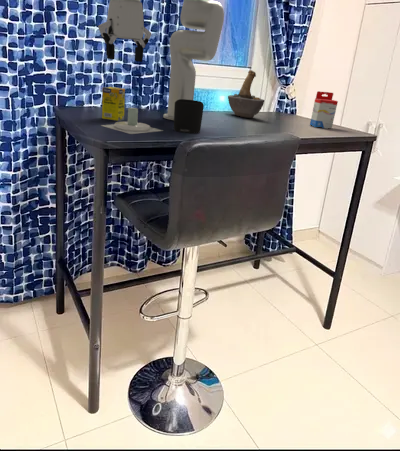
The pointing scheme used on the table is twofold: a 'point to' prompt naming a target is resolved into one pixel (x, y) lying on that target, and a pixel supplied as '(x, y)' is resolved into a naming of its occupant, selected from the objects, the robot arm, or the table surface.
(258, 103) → the mortar and pestle
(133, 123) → the lid
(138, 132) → the mat
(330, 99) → the ink box
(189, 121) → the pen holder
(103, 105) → the supplement box
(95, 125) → the table surface
